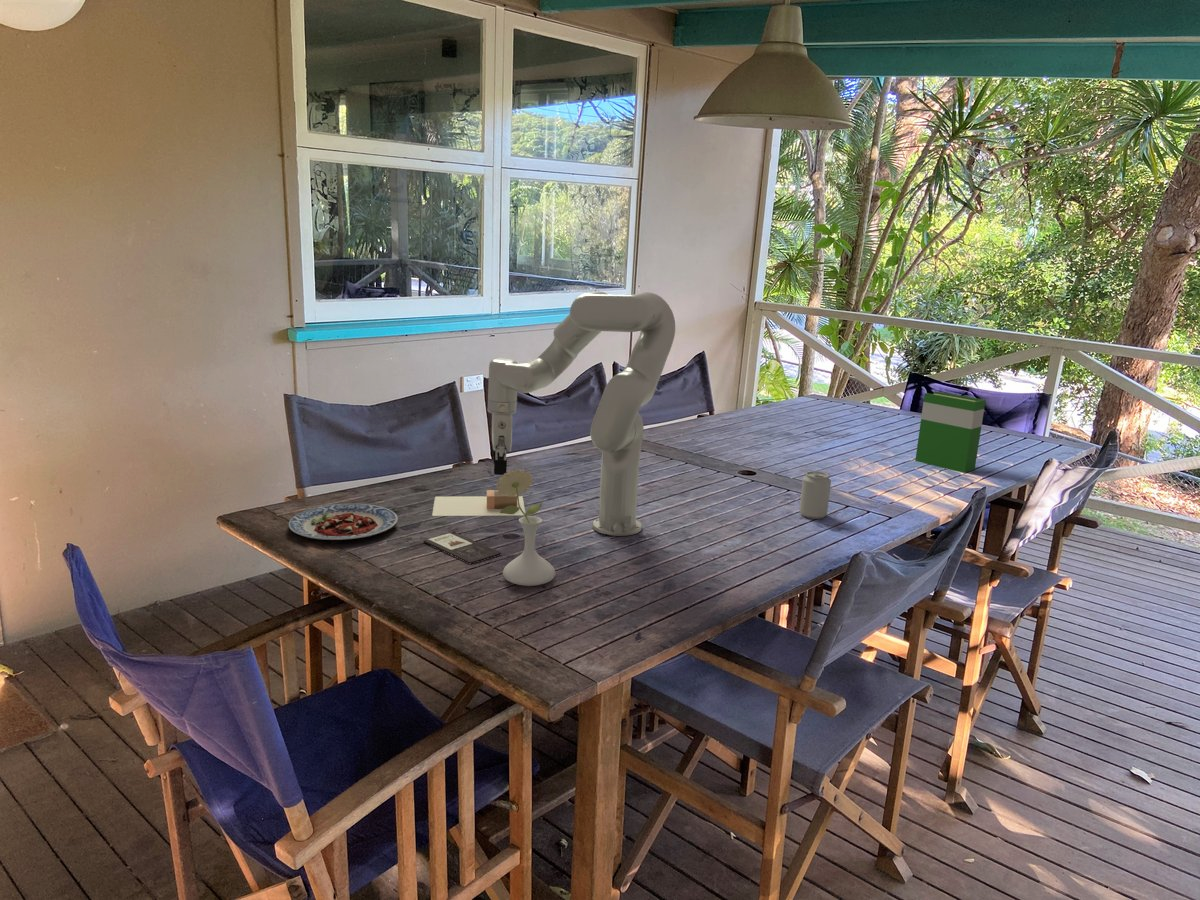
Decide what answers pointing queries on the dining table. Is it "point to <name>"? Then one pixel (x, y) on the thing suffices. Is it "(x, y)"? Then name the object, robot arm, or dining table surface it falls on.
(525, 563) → the flower in vase
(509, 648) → the dining table surface
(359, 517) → the ceramic plate
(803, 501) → the can
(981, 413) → the green cereal box
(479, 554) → the chocolate bar
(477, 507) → the mat
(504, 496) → the orange-brown block
